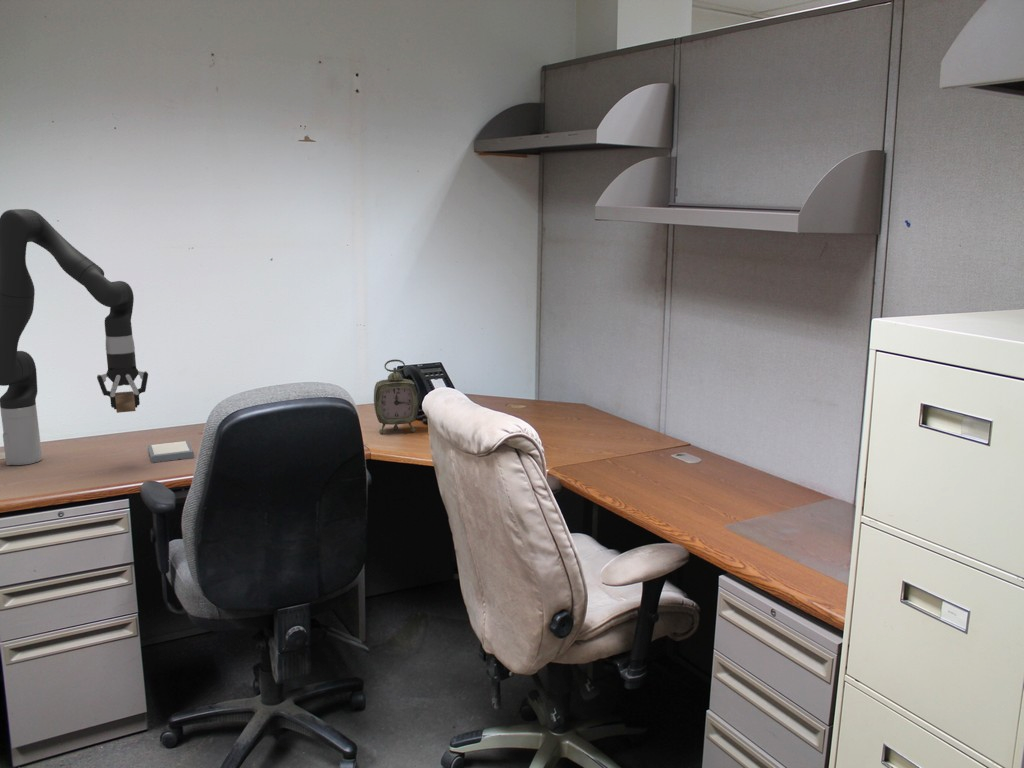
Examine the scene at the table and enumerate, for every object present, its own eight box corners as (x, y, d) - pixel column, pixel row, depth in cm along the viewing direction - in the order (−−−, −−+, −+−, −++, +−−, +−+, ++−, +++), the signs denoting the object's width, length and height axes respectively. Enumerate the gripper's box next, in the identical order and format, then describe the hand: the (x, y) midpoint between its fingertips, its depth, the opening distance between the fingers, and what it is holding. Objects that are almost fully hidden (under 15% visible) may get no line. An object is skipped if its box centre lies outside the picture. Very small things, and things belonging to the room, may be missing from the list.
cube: (116, 412, 243) (115, 395, 242) (116, 409, 248) (114, 392, 247) (135, 411, 246) (134, 394, 245) (134, 407, 250) (133, 391, 249)
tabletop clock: (376, 435, 283) (373, 362, 278) (374, 429, 291) (371, 358, 286) (419, 433, 286) (417, 360, 281) (415, 426, 294) (414, 356, 289)
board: (151, 463, 251) (150, 455, 251) (148, 451, 264) (147, 444, 263) (194, 457, 257) (193, 450, 256) (188, 446, 269) (188, 440, 269)
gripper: (93, 354, 237) (98, 413, 240) (148, 350, 243) (153, 408, 246) (92, 350, 243) (98, 407, 247) (146, 347, 250) (151, 403, 253)
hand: (125, 407), depth 247 cm, fingers closed on cube, 5 cm apart
